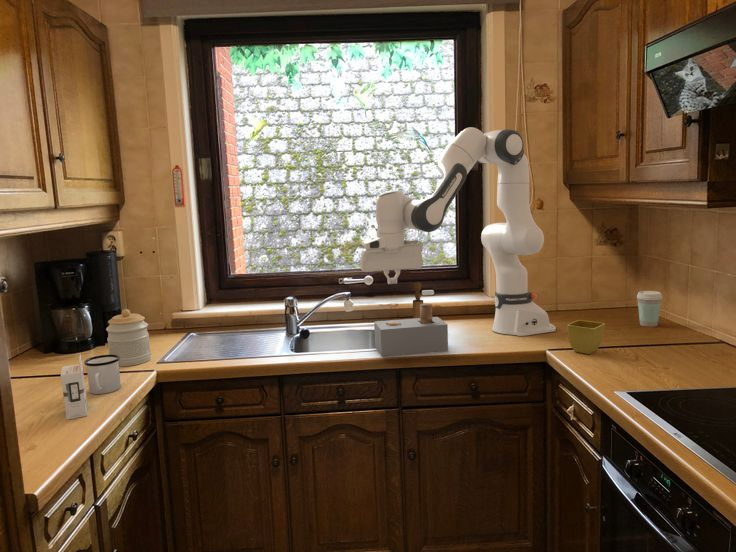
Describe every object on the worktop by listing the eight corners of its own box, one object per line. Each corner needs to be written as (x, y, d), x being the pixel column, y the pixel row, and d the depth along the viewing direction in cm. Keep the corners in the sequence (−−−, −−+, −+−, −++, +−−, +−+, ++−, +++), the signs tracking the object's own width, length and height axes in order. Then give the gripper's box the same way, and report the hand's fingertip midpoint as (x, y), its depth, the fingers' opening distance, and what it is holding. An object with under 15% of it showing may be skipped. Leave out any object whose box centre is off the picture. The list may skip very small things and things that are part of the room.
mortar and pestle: (427, 331, 228) (426, 283, 225) (410, 332, 228) (408, 284, 226) (426, 327, 235) (425, 280, 232) (409, 327, 235) (408, 281, 232)
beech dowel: (399, 346, 206) (398, 321, 205) (401, 349, 202) (401, 323, 201) (387, 347, 206) (386, 322, 204) (389, 350, 202) (388, 324, 200)
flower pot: (605, 350, 194) (605, 322, 193) (593, 357, 188) (594, 328, 187) (578, 346, 200) (578, 319, 199) (566, 352, 194) (566, 324, 193)
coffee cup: (642, 321, 230) (642, 289, 228) (665, 324, 224) (666, 291, 222) (631, 325, 225) (632, 293, 223) (655, 328, 218) (656, 295, 217)
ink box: (66, 409, 161) (60, 355, 159) (87, 406, 163) (81, 352, 161) (65, 420, 154) (58, 363, 151) (87, 416, 156) (80, 360, 153)
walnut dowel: (430, 328, 207) (430, 303, 206) (434, 331, 203) (433, 305, 202) (419, 329, 206) (418, 304, 205) (422, 332, 202) (421, 306, 201)
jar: (147, 365, 199) (142, 311, 197) (105, 368, 197) (99, 314, 195) (154, 354, 212) (149, 304, 209) (114, 357, 210) (109, 306, 207)
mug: (92, 385, 180) (89, 355, 179) (126, 382, 182) (123, 353, 180) (80, 399, 169) (76, 367, 167) (116, 396, 170) (113, 364, 169)
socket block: (438, 342, 212) (437, 316, 211) (448, 351, 201) (447, 324, 199) (375, 347, 209) (374, 321, 208) (381, 357, 197) (380, 329, 196)
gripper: (419, 238, 203) (421, 279, 205) (358, 242, 200) (360, 284, 202) (424, 240, 197) (425, 282, 199) (361, 244, 194) (363, 287, 196)
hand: (392, 283), depth 201 cm, fingers closed
